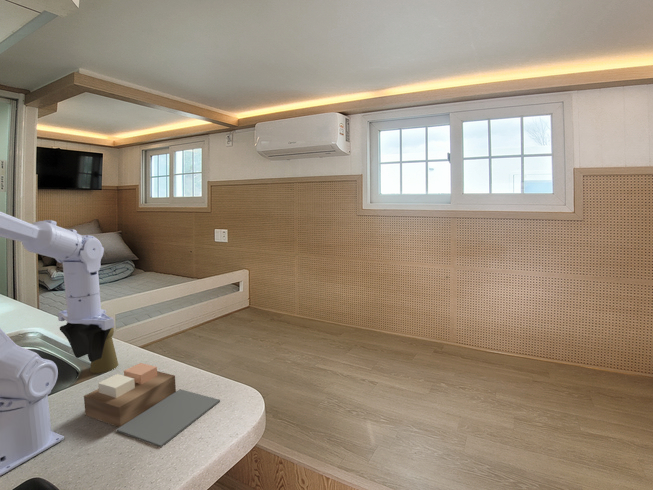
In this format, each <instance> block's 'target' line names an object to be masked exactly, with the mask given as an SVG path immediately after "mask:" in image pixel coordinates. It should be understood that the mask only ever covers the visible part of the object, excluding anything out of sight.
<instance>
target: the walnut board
mask: <svg viewBox="0 0 653 490" xmlns="http://www.w3.org/2000/svg"><path fill="white" fill-rule="evenodd" d="M176 386H177V385H176V375H174V374H172V373H171V374H170V373H167V372H163V371H158V370H157V376H156V377H154V378H152V379H150V380H148V381H147V382H145V383H143V384H138V383H135V388H134V389H132V390H130V391H128V392H126V393H125V394H123V395H121V396H119V397H117V398H115V397H112V396H109V395H105V394H102V393H99V388H97V389H95V390H94V391H93V390H92V391H91V392H89V393H87V394H85V395H83V401H84V414H85V416H86V417H90V418H92V419H95V420H98V421H101V422H103V423H106V424H109V425H112V426H115V427H117V428H119V427H121V426H122V425H124V424H126V423H127V422H129V421H130V420H132V419H134V418H135V417H137V416H138V415H140V414H141V413H143V412H145V411H146V410H148V409H149V408H151V407H153V406H154V405H156V404H157V403H159V402H160V401H162V400H164V399H165V398H167V397H168V396H170V395H172V394H173V393H175V392H176V391H177V390H176Z"/></svg>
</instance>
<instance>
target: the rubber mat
mask: <svg viewBox="0 0 653 490" xmlns="http://www.w3.org/2000/svg"><path fill="white" fill-rule="evenodd" d="M220 402H221V399H219V398H215V397H211V396H207V395H203V394H200V393H196V392H192V391H188V390H185V389H182V388H180V389H177V390H176V392H175V393H173V394H172V395H170V396H168V397H167V398H165V399H164V400H162V401H160V402H159V403H157V404H156V405H154V406H153V407H151V408H149V409H148V410H146V411H145V412H143V413H141V414H140V415H138V416H137V417H135V418H134V419H132V420H130V421H129V422H127V423H126V424H124V425H122V426H121V427H117V428H116V430H115V431H116V432H118V433H121V434H124V435H126V436H128V437H131V438H134V439H137V440H138V441H141V442H145V443H148V444H150V445H153V446H155V447H158V448H163V447H164V446H165V445H167V444H168V443H169V442H170V441H172V440H173V439H174V438H176V437H177V436H178V435H179V434H181V433H182V432H184V430H186V429H187V428H188V427H189V426H191V425H192V424H193V423H194V422H196V421H198V419H200V418H201V417H202V416H204V415H205V414H206V413H208V412H209V411H210V410H211V409H213V408H214V407H215V406H217V405H218V404H219V403H220Z"/></svg>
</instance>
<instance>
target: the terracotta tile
mask: <svg viewBox="0 0 653 490" xmlns="http://www.w3.org/2000/svg"><path fill="white" fill-rule="evenodd" d="M157 371H158V367H157V366H156V365H152V364H151V365H150V364H146V363H143V362H140V363H136V364H135V365H133V366H131V367H129V368H126V369H124V370H123V376H127V377H130V378H134V382H135V383H138V384H143V383H145V382H147V381H148V380H150V379H152V378H154V377H156V376H157Z"/></svg>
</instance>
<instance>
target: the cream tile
mask: <svg viewBox="0 0 653 490" xmlns="http://www.w3.org/2000/svg"><path fill="white" fill-rule="evenodd" d="M97 384H98V389H99V393H102V394H105V395H109V396H112V397H115V398H117V397H119V396H121V395H123V394H125V393H126V392H128V391H130V390H132V389H134V388H135V382H134V378H130V377H127V376H124V374H118V373H116V374H114V375H112V376H110V377H108V378H106V379H103V380H101V381H100V382H98V383H97Z"/></svg>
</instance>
